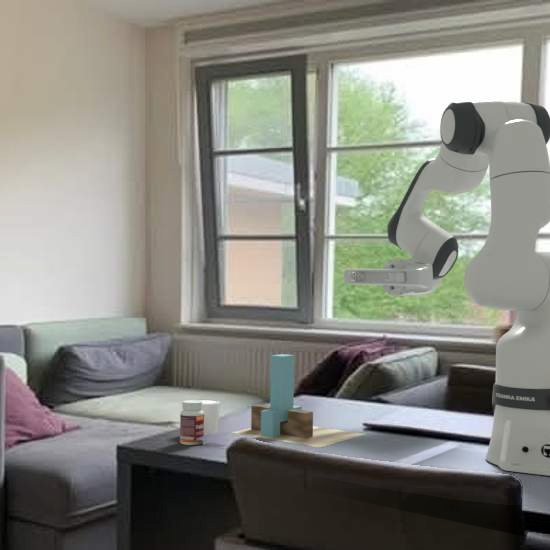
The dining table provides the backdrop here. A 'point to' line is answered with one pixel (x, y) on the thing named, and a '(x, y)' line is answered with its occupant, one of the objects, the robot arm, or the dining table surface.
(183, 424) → the pill bottle
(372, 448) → the dining table surface
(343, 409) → the dining table surface
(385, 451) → the dining table surface
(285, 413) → the angled bracket
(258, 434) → the jig board
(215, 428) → the white cup
